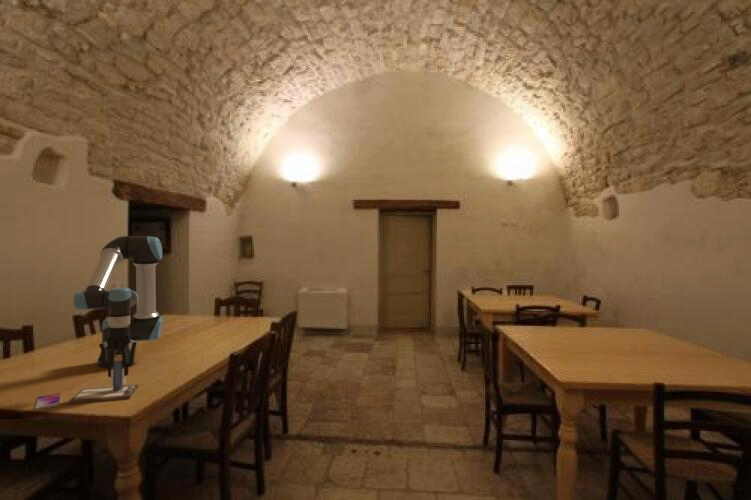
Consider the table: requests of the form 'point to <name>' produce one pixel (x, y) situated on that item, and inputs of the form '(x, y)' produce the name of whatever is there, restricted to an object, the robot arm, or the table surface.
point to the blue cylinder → (117, 373)
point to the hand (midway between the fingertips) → (118, 384)
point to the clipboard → (103, 394)
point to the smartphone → (47, 401)
